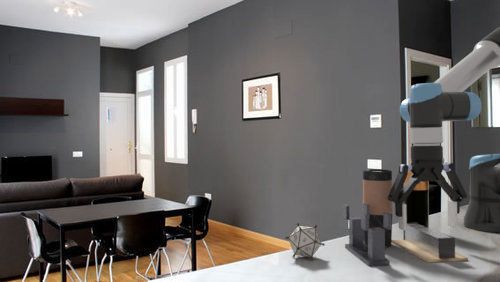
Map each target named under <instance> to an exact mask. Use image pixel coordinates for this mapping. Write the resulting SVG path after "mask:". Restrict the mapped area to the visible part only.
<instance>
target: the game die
mask: <svg viewBox="0 0 500 282" xmlns="http://www.w3.org/2000/svg"><path fill="white" fill-rule="evenodd" d="M296 225H297V227H296V228H295V229H294V230H293V232H292V233H290V235H289V236H284V238H285V239H287V240H288V242H289V244H290V246H291V249H292V252H293V255H292V258H295V256H301V257H305V258H306V257H308V258H310V260H311V261H314V257H313V256H314V255H315V253H316V252H317V251H318V250H319V248H321V246H322V247H323V246H326V244H325V243H324V242H321V238H320V235H319V233H318V230H317V227H318V224H315V225H314V227H313V226H306V225H300V223H299V222H296Z"/></svg>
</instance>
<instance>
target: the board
mask: <svg viewBox="0 0 500 282" xmlns="http://www.w3.org/2000/svg"><path fill="white" fill-rule="evenodd" d="M391 244H394V245H396V246H398V247H399V248H401V249H402V250H404V251H407V252H408V253H411V255H413V256H416V257H417V258H419V259H421V260H423V261H424V262H426V263H444V262H445V263H446V262H461V261H462V262H463V261H464V262H466V261H469V257H467V256H464V255H463V254H461V253H458V252H456V251H455V258H441V259H440V258H438V257H436V256H434V255H432V254H430V253H428V252H426V251H425V250H423V249H421V248H419V247H417V246H415V245H413V244H411V243H409V242H407V241H405V240H404V238H403V239H401V238H400V239H392V241H391Z"/></svg>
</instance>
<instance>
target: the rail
mask: <svg viewBox="0 0 500 282" xmlns="http://www.w3.org/2000/svg"><path fill="white" fill-rule="evenodd" d="M402 231H403V233H402V234H403V239H404V240H405V241H407V242H409V243H411V244H413V245H415V246H417V247H419V248H421V249H423V250H425V251H426V252H428V253H430V254H432V255H434V256H436V257H438V258H440V259H441V258H455V252H456V238H455V237H452V236H449V235H446V234H444V233H443V232H442V233H441V232H439V231H437V230H435V229H431V228H430V227H429V228H427V227H424V226H422V225H419V224H417V222H414V223H407V230H406V231H404V230H402Z"/></svg>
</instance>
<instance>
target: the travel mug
mask: <svg viewBox="0 0 500 282" xmlns="http://www.w3.org/2000/svg"><path fill="white" fill-rule="evenodd" d="M392 186H393V172H392V170H391V169H378V168H375V169H373V168H371V169H369V170H364V169H363V170H362V205H363V204H368V205H370V219H369V228H379V227H380V228H382V229H384V230H385V248H390V247H391V246H392V242H391V241H392V240H393V239H392V238H393V237H392V236H393V231H392V230H393V229H392V230H388V229H386V228H384V227H383V212H387V213H390V214H391V225H392V226H393V202H392V201H389V200H388V199H387V198H388V195H389V193H390V191H391V189H392ZM364 244H365V245H367V246H368V230H367V231H365V230H364Z"/></svg>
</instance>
